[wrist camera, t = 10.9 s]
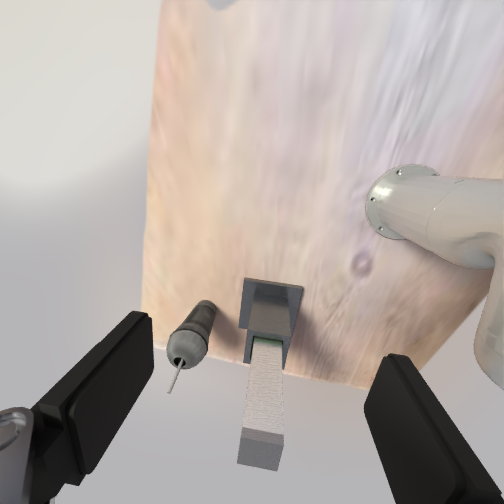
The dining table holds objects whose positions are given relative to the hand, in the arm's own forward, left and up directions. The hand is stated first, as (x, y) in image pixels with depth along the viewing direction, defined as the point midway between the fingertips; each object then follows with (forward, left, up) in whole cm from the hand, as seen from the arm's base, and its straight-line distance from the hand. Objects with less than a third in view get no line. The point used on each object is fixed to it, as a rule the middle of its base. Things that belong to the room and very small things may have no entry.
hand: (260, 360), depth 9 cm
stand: (-2, +21, -36) cm, 42 cm away
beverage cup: (+12, +24, -36) cm, 45 cm away
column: (-2, +21, -29) cm, 36 cm away
